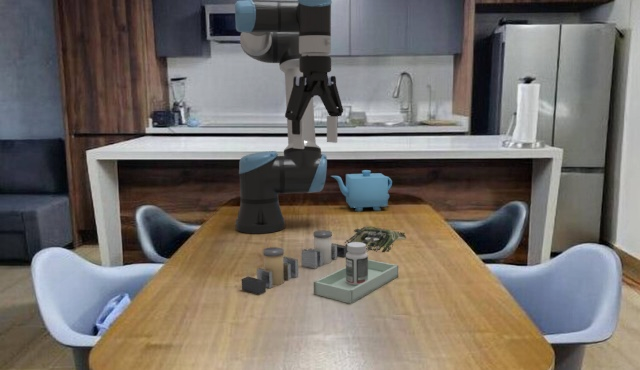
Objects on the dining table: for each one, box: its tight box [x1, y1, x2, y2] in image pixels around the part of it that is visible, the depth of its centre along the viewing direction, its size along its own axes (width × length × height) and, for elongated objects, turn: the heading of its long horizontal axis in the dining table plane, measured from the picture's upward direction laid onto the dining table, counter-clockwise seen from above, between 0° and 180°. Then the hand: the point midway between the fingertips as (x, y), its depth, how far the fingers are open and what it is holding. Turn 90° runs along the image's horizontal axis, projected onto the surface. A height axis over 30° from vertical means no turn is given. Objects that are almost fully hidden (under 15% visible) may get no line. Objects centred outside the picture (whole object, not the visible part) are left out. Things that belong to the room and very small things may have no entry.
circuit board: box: [344, 226, 407, 253], centre depth 151 cm, size 25×18×4 cm
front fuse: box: [262, 246, 285, 287], centre depth 117 cm, size 4×4×7 cm
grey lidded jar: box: [312, 229, 333, 265], centre depth 131 cm, size 4×4×7 cm
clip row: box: [241, 242, 348, 296], centre depth 125 cm, size 5×33×4 cm, turn 143°
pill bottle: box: [345, 242, 369, 285], centre depth 115 cm, size 5×5×8 cm
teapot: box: [330, 169, 393, 213], centre depth 190 cm, size 22×11×14 cm, turn 96°
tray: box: [313, 258, 399, 304], centre depth 115 cm, size 9×19×3 cm, turn 143°
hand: (316, 145), depth 130 cm, fingers open, 13 cm apart
